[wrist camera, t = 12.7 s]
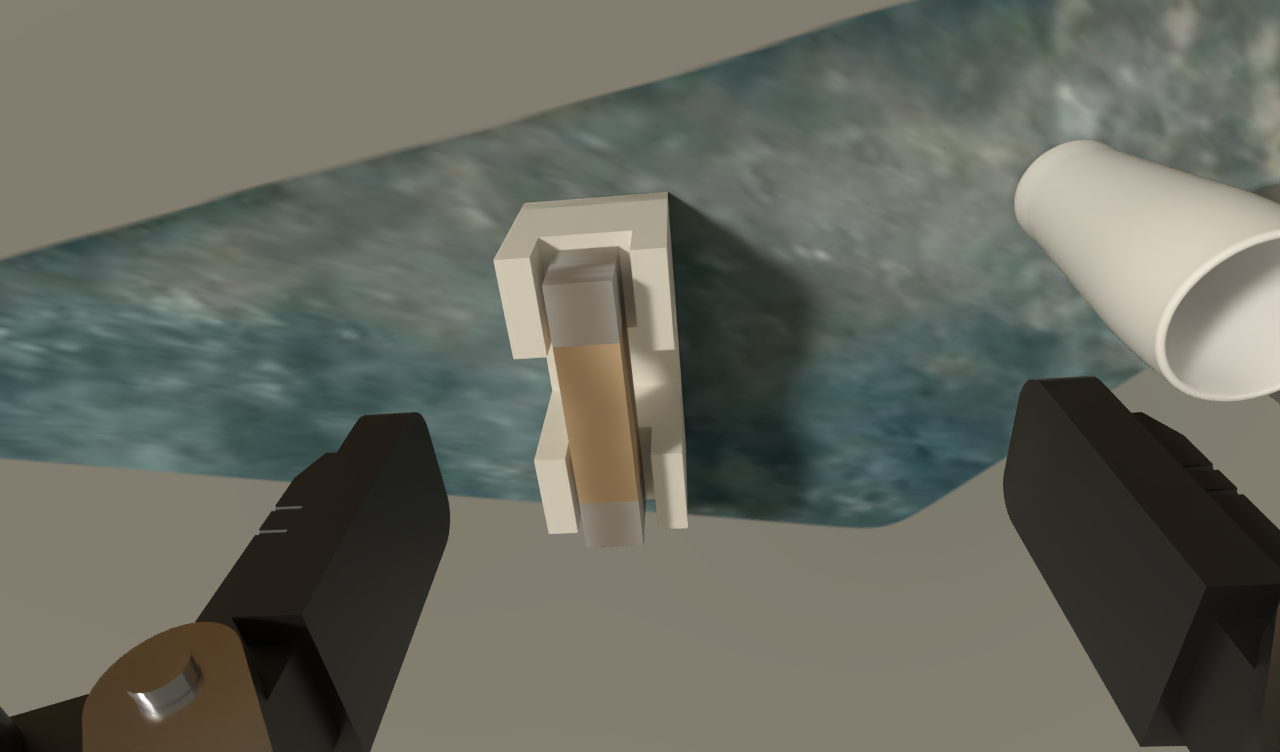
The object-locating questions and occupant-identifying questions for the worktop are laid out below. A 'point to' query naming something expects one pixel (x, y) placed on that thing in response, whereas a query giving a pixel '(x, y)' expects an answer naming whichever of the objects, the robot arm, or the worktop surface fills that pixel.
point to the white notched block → (651, 336)
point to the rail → (597, 392)
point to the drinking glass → (1164, 263)
